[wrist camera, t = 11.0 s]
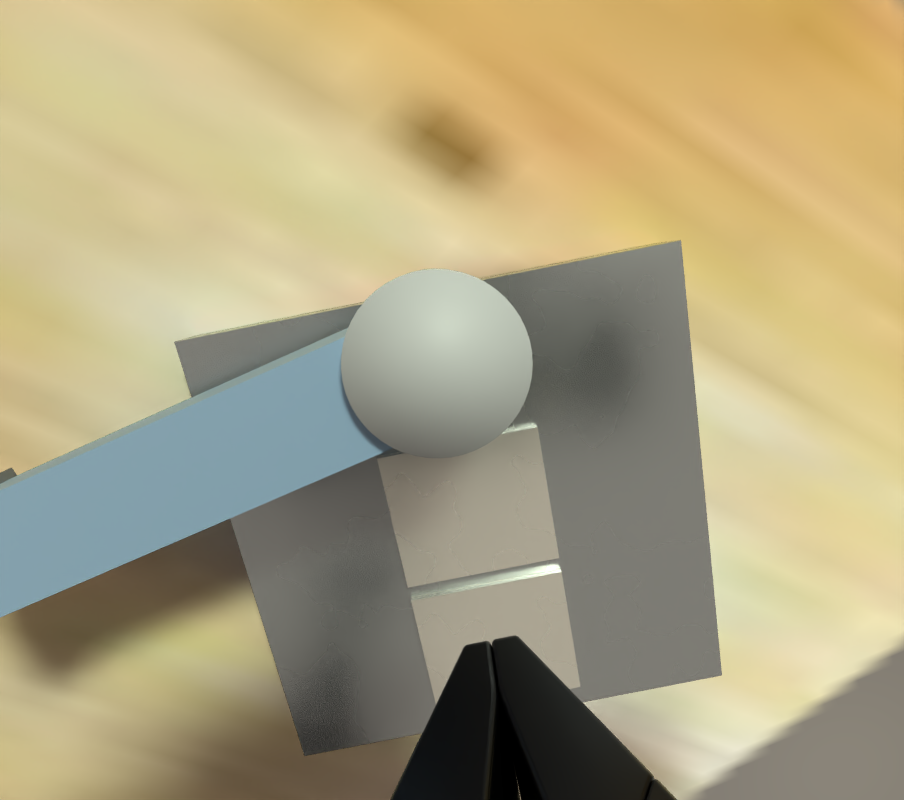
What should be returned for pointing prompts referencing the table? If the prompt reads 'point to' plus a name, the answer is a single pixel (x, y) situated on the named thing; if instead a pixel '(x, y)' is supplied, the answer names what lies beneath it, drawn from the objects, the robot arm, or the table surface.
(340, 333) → the lever
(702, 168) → the table surface
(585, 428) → the lid
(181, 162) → the table surface
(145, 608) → the table surface
